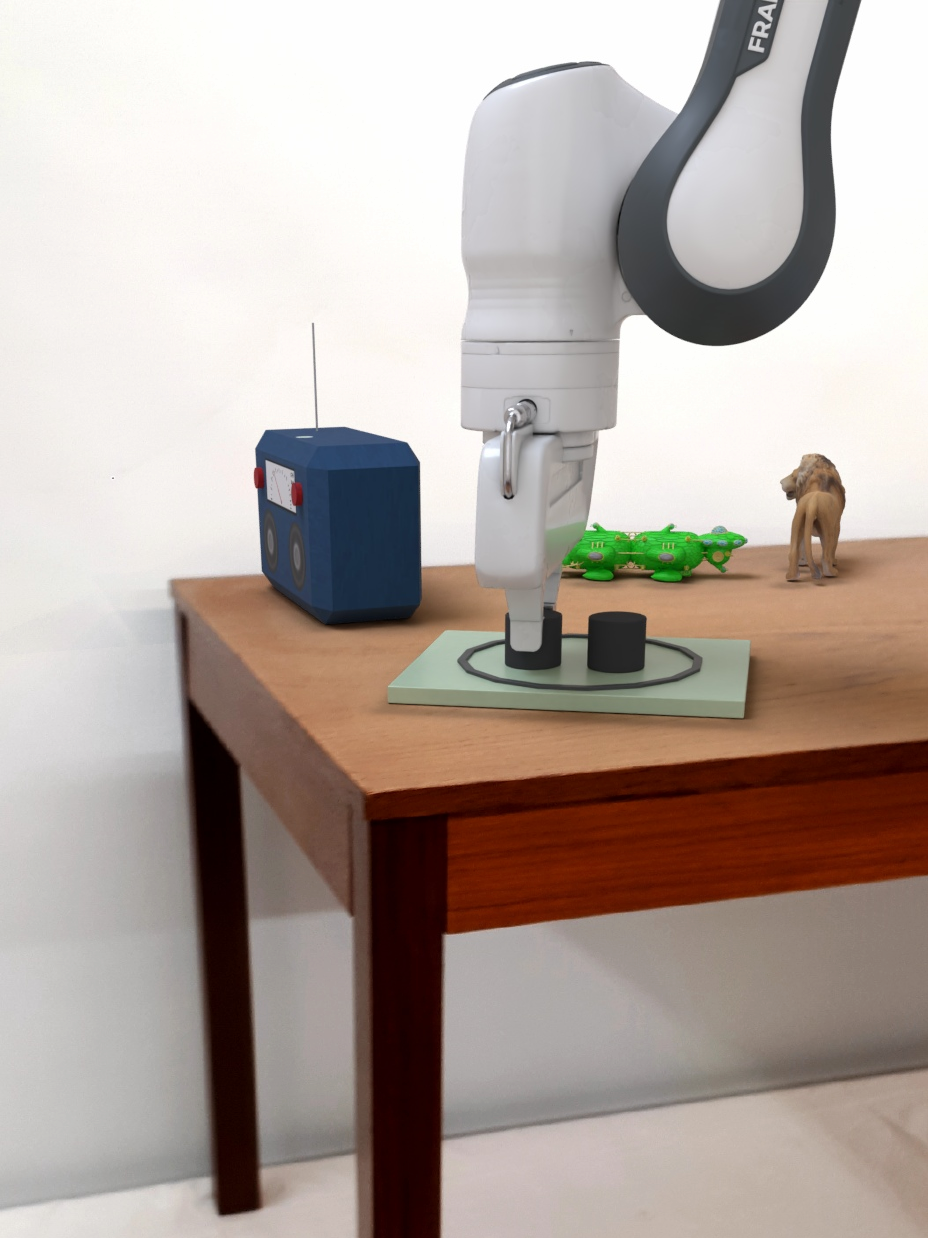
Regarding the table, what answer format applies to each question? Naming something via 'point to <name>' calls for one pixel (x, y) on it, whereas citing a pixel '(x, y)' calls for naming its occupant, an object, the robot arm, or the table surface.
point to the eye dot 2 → (616, 642)
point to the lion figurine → (814, 513)
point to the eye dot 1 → (546, 654)
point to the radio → (340, 521)
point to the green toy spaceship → (651, 552)
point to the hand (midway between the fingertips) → (533, 640)
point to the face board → (580, 677)
